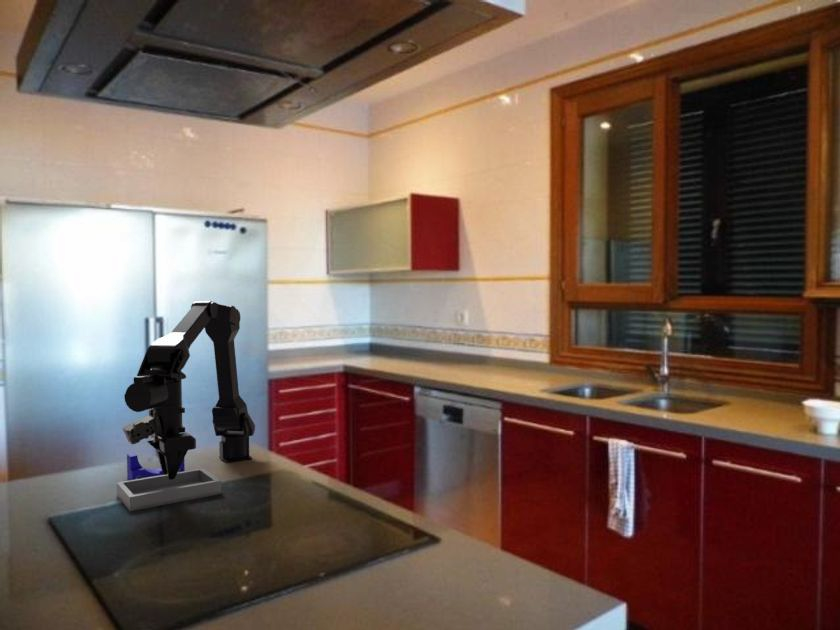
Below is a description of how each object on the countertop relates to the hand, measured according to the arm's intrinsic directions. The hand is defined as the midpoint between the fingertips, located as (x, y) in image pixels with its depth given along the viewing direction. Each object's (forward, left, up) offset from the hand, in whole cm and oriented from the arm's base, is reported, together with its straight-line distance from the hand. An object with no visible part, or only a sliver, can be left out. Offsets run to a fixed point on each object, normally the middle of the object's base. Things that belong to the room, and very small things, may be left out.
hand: (168, 476), depth 136 cm
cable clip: (-2, -16, -4) cm, 17 cm away
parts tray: (0, 0, -4) cm, 4 cm away
